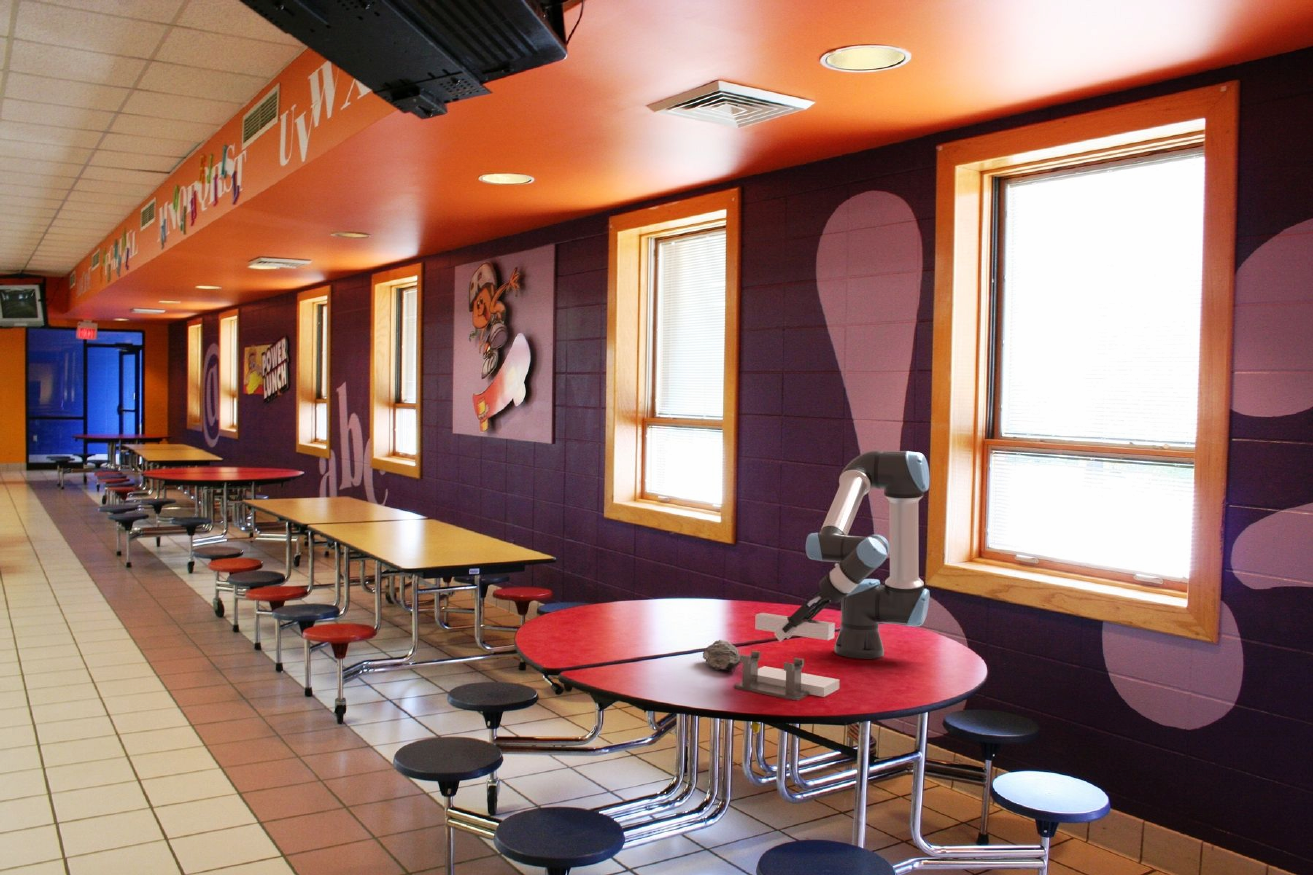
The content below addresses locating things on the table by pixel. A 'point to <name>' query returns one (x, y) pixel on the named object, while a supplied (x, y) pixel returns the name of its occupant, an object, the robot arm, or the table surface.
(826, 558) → the robot arm
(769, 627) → the rail
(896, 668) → the table surface
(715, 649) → the rock
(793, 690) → the rack
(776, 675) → the board
